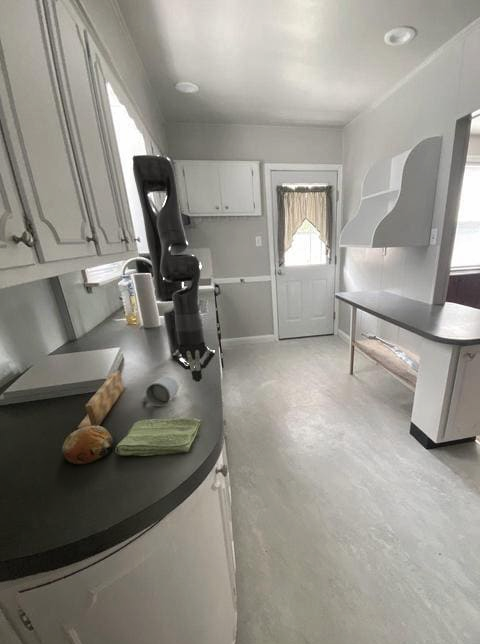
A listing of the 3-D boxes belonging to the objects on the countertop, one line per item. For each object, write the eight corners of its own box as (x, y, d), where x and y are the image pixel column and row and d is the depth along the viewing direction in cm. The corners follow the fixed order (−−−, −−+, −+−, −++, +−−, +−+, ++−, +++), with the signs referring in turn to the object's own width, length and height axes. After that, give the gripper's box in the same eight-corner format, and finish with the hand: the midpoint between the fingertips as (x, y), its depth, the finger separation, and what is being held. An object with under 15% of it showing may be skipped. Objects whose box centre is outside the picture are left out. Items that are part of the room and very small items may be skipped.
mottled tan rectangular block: (108, 390, 103) (102, 371, 100) (123, 388, 104) (119, 370, 101) (77, 429, 81) (70, 407, 79) (98, 427, 82) (91, 405, 80)
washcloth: (191, 455, 71) (189, 444, 70) (114, 459, 70) (110, 447, 69) (202, 424, 83) (201, 414, 82) (137, 427, 82) (134, 416, 81)
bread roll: (110, 448, 80) (98, 420, 79) (122, 448, 72) (109, 417, 72) (67, 468, 73) (53, 438, 72) (76, 471, 65) (60, 437, 65)
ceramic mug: (182, 394, 99) (178, 372, 96) (172, 406, 92) (167, 383, 89) (151, 394, 100) (146, 373, 97) (138, 406, 93) (132, 384, 90)
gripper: (213, 322, 93) (219, 373, 100) (168, 325, 91) (177, 377, 98) (212, 328, 87) (219, 383, 93) (164, 332, 84) (174, 387, 91)
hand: (197, 380), depth 95 cm, fingers closed
